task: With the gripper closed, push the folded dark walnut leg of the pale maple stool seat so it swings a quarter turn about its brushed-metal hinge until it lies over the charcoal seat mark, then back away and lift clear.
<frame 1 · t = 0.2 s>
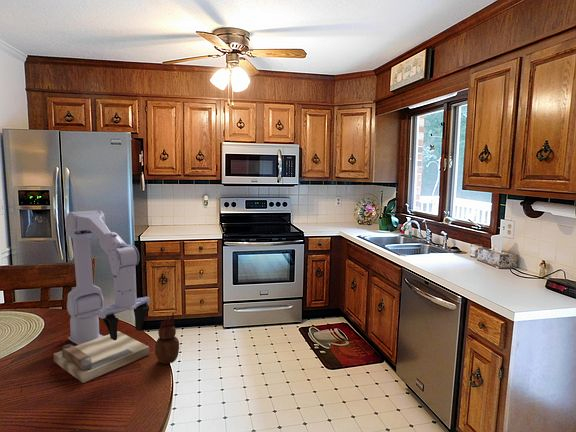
hand: (126, 334, 106), 10 cm above the table, fingers open, 7 cm apart
wooden figurine: (167, 361, 111), on the table
maple seat: (102, 357, 112), on the table
walnut leg: (76, 356, 105), point 4 cm above the table, hinge at 90.0°
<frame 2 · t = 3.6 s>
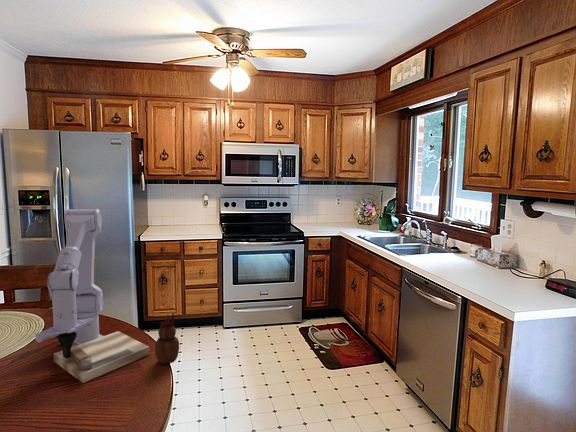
hand: (67, 356, 106), 3 cm above the table, fingers closed, pressing on walnut leg
walnut leg: (78, 355, 105), point 4 cm above the table, hinge at 85.6°, touching gripper
everything else where it was.
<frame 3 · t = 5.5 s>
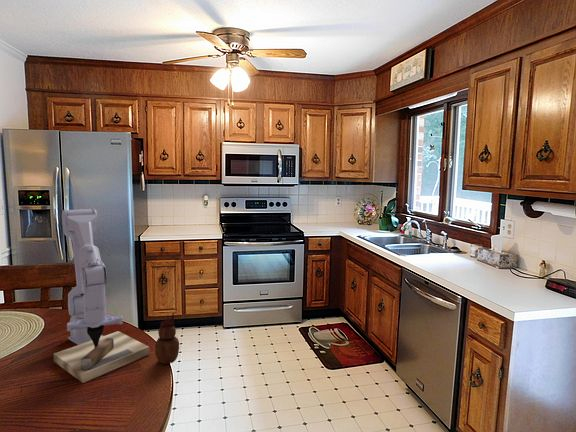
hand: (96, 349, 110), 3 cm above the table, fingers closed, pressing on walnut leg
walnut leg: (98, 352, 107), point 4 cm above the table, hinge at 32.9°, touching gripper
everything else where it was.
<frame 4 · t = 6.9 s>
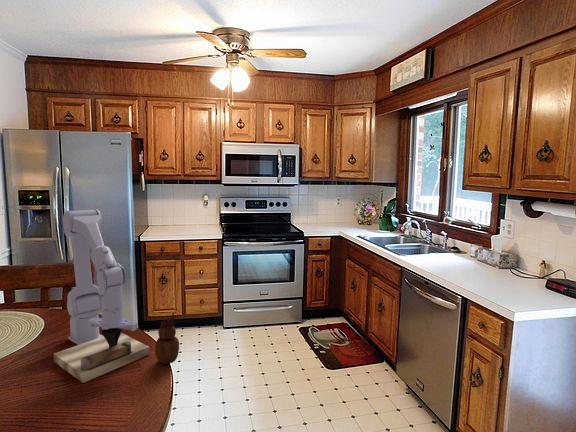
hand: (113, 351, 110), 3 cm above the table, fingers closed, pressing on walnut leg
walnut leg: (107, 355, 106), point 4 cm above the table, hinge at -1.7°, touching gripper
everything else where it was.
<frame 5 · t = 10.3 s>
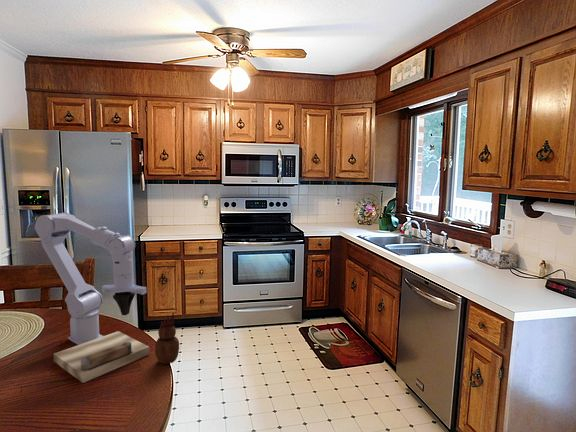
hand: (125, 314, 120), 10 cm above the table, fingers closed
walnut leg: (107, 355, 106), point 4 cm above the table, hinge at -2.9°
everything else where it was.
at the end: walnut leg at -3° (first picture: +90°) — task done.
